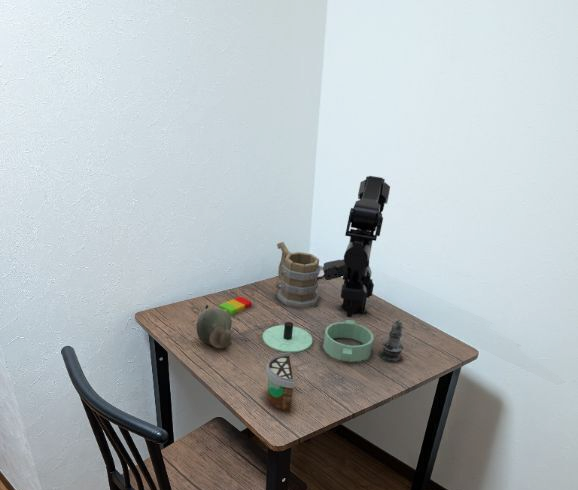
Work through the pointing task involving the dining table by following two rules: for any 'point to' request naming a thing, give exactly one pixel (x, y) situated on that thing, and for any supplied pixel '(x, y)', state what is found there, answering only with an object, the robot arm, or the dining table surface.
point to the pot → (348, 351)
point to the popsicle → (235, 305)
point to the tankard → (298, 278)
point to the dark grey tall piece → (393, 343)
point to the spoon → (318, 275)
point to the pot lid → (287, 338)
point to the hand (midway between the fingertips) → (349, 308)
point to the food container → (280, 382)
